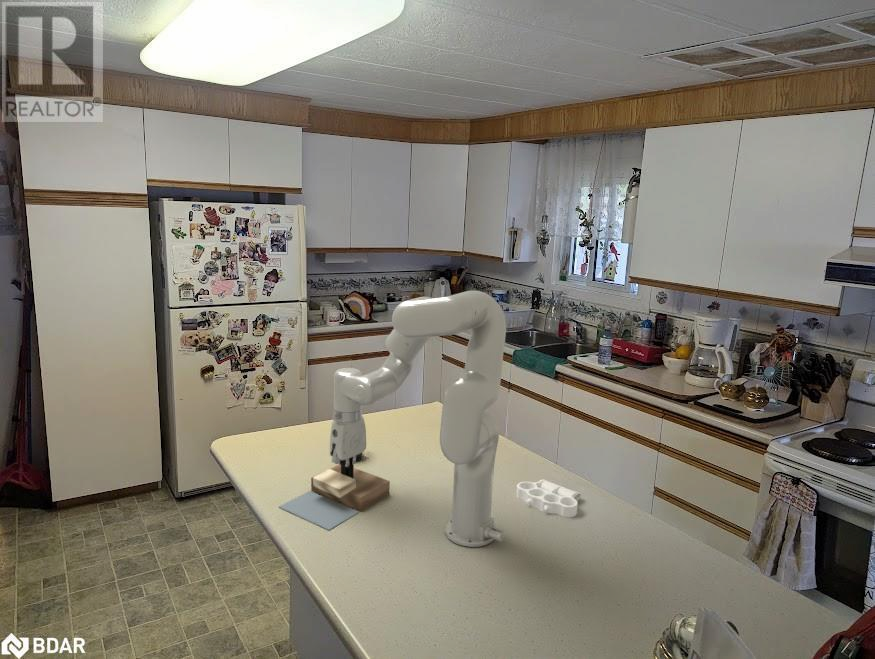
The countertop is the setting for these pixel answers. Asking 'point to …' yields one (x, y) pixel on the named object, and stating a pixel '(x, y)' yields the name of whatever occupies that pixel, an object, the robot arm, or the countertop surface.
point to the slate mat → (319, 510)
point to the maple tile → (334, 483)
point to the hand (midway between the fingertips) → (347, 477)
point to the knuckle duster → (549, 497)
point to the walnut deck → (359, 490)
